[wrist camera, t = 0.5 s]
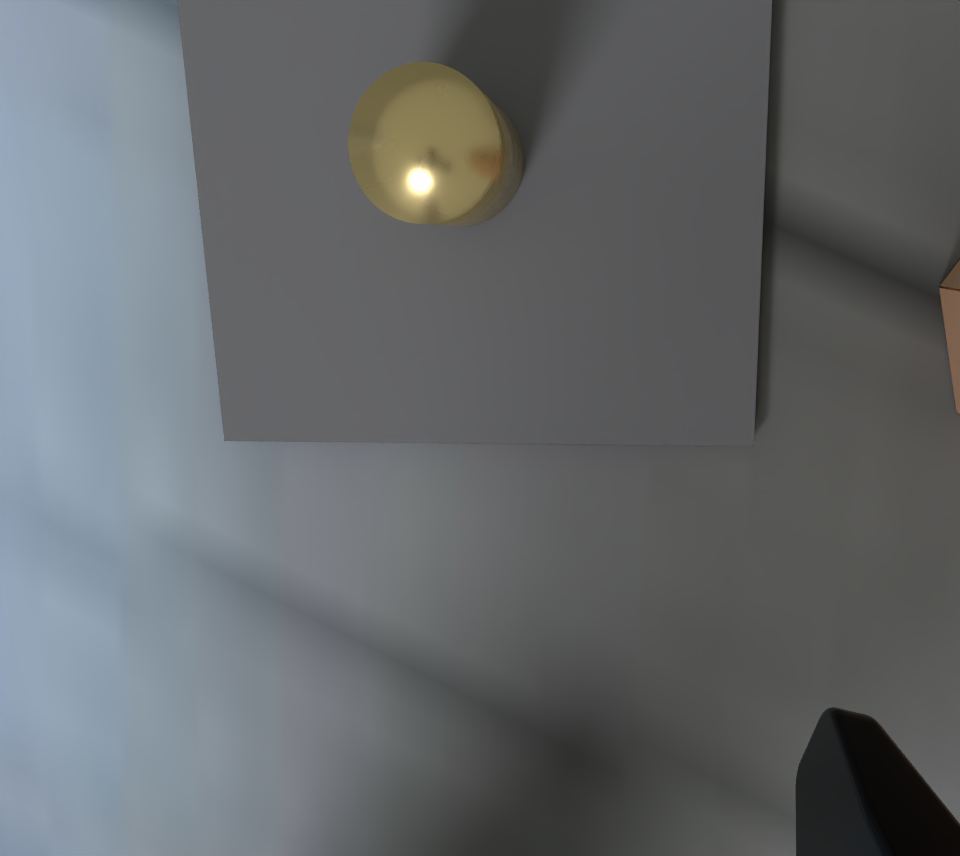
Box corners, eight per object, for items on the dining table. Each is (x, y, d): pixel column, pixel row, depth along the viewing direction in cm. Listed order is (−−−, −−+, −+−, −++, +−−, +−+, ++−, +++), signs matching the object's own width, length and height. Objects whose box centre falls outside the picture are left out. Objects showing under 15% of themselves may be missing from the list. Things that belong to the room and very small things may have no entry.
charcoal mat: (750, 440, 21) (753, 446, 20) (234, 435, 23) (224, 440, 23) (775, -195, 18) (780, -210, 17) (177, -120, 20) (163, -130, 20)
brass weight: (525, 223, 20) (499, 220, 16) (406, 228, 20) (353, 226, 17) (522, 91, 19) (495, 55, 15) (399, 100, 20) (343, 68, 16)
